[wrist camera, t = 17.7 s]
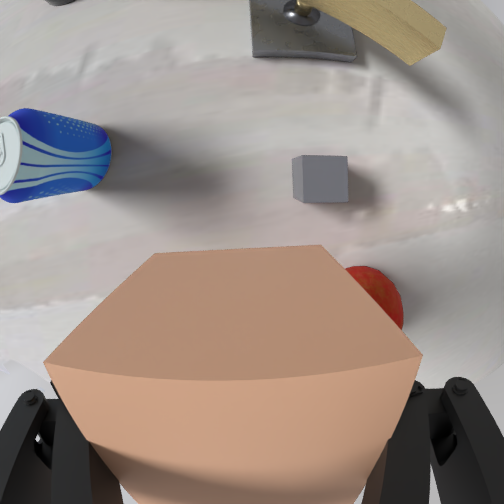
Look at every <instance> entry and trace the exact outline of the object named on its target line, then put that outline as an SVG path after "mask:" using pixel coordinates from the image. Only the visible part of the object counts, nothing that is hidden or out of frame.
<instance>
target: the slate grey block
mask: <svg viewBox="0 0 504 504" xmlns="http://www.w3.org/2000/svg"><path fill="white" fill-rule="evenodd" d="M292 170H293V198H295V199H297V200H299V201H301V202H303V203H323V202H348V162H347V156H318V155H302V156H299V157H296V158H294V159H292Z"/></svg>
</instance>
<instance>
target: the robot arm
mask: <svg viewBox="0 0 504 504" xmlns="http://www.w3.org/2000/svg"><path fill="white" fill-rule="evenodd" d="M45 1H47V2H48V3H49V4H51V5H54V6H59V5H64V4H67V3H70V2H72V1H74V0H45ZM50 383H51V385H52V387H53V389H54V391H55V393H56V395H57V396H58V398H59V399H46V398H45V396H44V394H43V393H42V392H41V391H40V390H37V389H31V390H28V391H26V392H24V393H23V394H22V395H21V396H20V397H19V398H18V400H17V402H16V403H15V405H14V407H13V409H12V410H11V412H10V414H9V416H8V418H7V419H6V421H5V423H4V425H3V427H2V429H1V431H0V504H123V499H122V494H121V489H120V483H119V480H118V479H117V478H116V477H115V475H114V474H113V473H112V472H111V470H110V469H109V468H108V467H107V465H106V464H105V463H104V461H103V460H102V459H101V457H100V456H99V455H98V453H97V452H96V451H95V449H94V448H93V446H92V445H91V444H90V442H89V441H88V440H86V438H85V437H84V435H83V434H82V432H81V431H80V429H79V428H78V426H77V424H76V423H75V421H74V420H73V418H72V416H71V415H70V413H69V411H68V409H67V408H66V406H65V404H64V402H63V401H62V399H61V397H60V395H59V393H58V391H57V390H56V388H55V386H54V384H53V382H52V380H51V382H50ZM37 434H38V435H39V437H40V440H39V442H37V441H36V440H35V438H36V436H37ZM430 462H431V466H432V469H433V473H434V477H435V481H436V485H437V489H438V493H439V497H440V501H441V504H504V437H503V435H502V434H501V431H500V429H499V428H498V426H497V424H496V422H495V420H494V418H493V416H492V415H491V413H490V411H489V409H488V408H487V406H486V404H485V403H484V401H483V399H482V397H481V396H480V394H479V392H478V391H477V389H476V387H475V386H474V384H473V383H472V382H471V381H469V380H468V379H466V378H462V377H453V378H451V379H449V380H448V381H447V382H446V384H445V386H444V388H439V389H425V387H424V386H423V385H422V384H421V383H420V382H418V381H416V380H415V381H414V383H413V386H412V389H411V392H410V394H409V397H408V400H407V402H406V405H405V407H404V410H403V412H402V414H401V417H400V419H399V421H398V424H397V426H396V428H395V430H394V432H393V434H392V437H391V438H389V439H388V440H387V443H386V445H385V447H384V449H383V451H382V453H381V455H380V457H379V458H378V460H377V462H376V464H375V466H374V468H373V470H372V471H371V473H370V475H369V477H368V478H367V482H366V486H365V491H364V496H363V500H362V504H429V493H430Z"/></svg>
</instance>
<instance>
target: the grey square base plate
mask: <svg viewBox="0 0 504 504" xmlns="http://www.w3.org/2000/svg"><path fill="white" fill-rule="evenodd" d="M295 4H296V0H249V5H250V21H251V37H252V54H253V57H301V58H317V59H328V60H338V61H346V62H352V61H353V60H354V59H355V58H356V57H357V54H356V48H355V43H354V37H353V32H352V27H351V26H349V25H347V24H345V23H344V22H342V21H340V20H338V19H336V18H334V17H332V16H330V15H328V14H326V13H324V12H322V11H320V10H318V9H316V8H314V7H313V9H312V11H311V13H310V15H308V16H301V15H298V14H297V13H296V12H295V11H294V7H295Z"/></svg>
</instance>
